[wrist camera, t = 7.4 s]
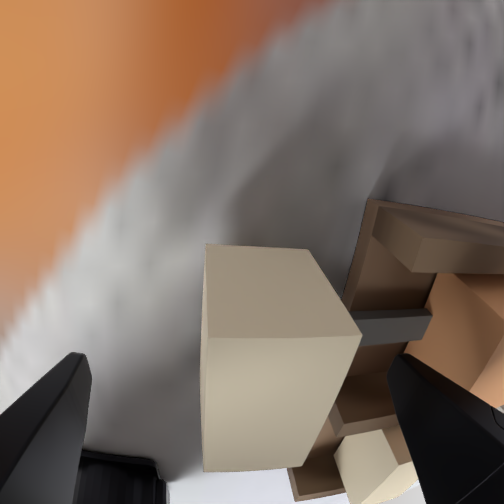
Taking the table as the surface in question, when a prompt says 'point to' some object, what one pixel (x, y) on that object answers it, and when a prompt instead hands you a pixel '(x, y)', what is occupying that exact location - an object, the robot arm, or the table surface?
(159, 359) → the table surface
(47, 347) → the table surface
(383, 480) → the cream white block dumbbell
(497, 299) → the cream orange dumbbell block
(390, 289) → the lane rack
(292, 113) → the table surface
